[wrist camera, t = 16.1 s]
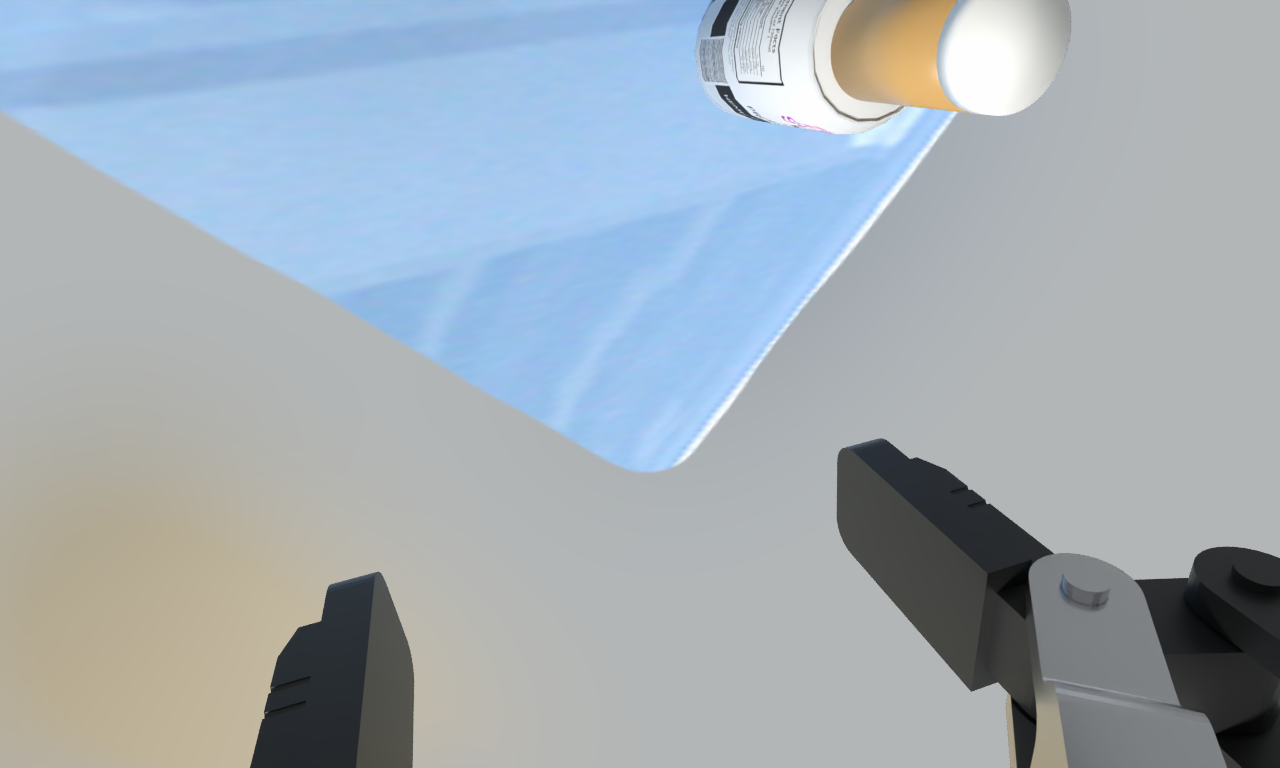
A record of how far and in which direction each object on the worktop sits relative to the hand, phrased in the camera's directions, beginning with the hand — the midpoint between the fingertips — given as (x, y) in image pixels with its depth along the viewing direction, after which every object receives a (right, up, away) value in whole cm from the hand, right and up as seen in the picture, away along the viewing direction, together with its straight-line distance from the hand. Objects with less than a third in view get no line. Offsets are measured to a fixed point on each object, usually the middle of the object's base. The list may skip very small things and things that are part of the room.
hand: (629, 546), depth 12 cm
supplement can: (+7, +25, +35) cm, 43 cm away
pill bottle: (+12, +19, +21) cm, 31 cm away
